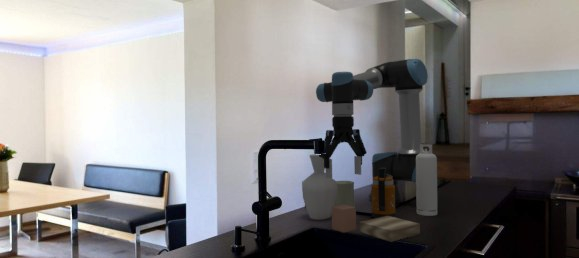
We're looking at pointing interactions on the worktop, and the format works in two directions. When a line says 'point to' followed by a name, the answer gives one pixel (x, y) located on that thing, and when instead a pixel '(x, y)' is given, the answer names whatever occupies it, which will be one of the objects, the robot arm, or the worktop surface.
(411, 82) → the robot arm
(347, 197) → the can
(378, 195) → the canister
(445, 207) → the worktop surface
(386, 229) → the plinth block
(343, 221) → the tower block
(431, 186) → the bottle
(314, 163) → the vase
